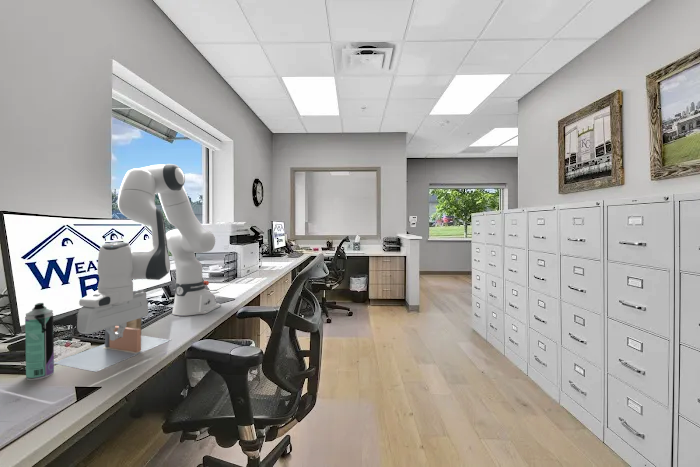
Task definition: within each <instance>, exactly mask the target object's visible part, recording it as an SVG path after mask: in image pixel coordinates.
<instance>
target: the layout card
mask: <svg viewBox="0 0 700 467" xmlns="http://www.w3.org/2000/svg"><path fill="white" fill-rule="evenodd" d="M170 341H172V339H167V338H160V337H154V336H147V335H142V334H141V351H138V352H134V351H129V350H122V349H116V348H110V347H105V343H104V344H100V345H99V346H95V347H92V348H89V349H85V350H83V351H81V352H78V353H74V354H73V355H69V356H67V357H64V359H63V358H61V359H62V360H60V359H59V360H60V361H58V360H57V361H58V362H55V361H54V365H59V366H64V367H68V368H74V369H79V370H85V371H88V372H89V371H90V372H94V373H97V372H100V371H102V370H103V369H106V368H108V367H112V366H113V365H116V364H118V363H120V362H123V361H126V360H128V359H130V358H132V357H135V356H137V355H139V354H142V353H144V352H147V351H149V350H151V349H154V348H156V347H158V346H161V345H163V344H166V343H168V342H170Z"/></svg>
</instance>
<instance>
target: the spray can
mask: <svg viewBox="0 0 700 467" xmlns="http://www.w3.org/2000/svg"><path fill="white" fill-rule="evenodd" d="M53 312H54V311H53V310H52V309H50V308H47V306H44V302H39V303H36V304H34V307H33V308H32V309H31V310H30V311H29V312H27V313H25V318H24V322H25V323H24V324H25V325H24V326H25V327H24V329H25V334H24V336H25V377H26V378H25V379H26V380H28V381H36V380H41V379H44V378H48V377H49V376H51V375H53V374H54V373H55V364H54V362H55V355H54V354H55V348H54V344H55V343H54V342H55V341H54V336H55V335H54V313H53Z"/></svg>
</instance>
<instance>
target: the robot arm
mask: <svg viewBox="0 0 700 467" xmlns="http://www.w3.org/2000/svg"><path fill="white" fill-rule="evenodd" d="M185 181H186V178H185V173H184V170H183V169H182V168H181V167H180V166H178V165H177V164H174V163H166V164H152V165H151V164H150V165H149V166H143V167H139V168H138V167H137V168H132V169H128V170H127V172H126V173H125V175H124V177H123V179H122V182H121V185H120V188H119V191H118V192H119V193H118V197H117V208H118V210H119V212H120V213H121V214H122V215H123V216H124V217H126V218H127V219H129V220H131V221H134V222H136V223H139V224H143V225H145V226H148V227H149V228H150V229H151V237H152V248H151V249H150V250H132V249H131V248H132V247H131V245H130V243H128V242H125V241H113V242H112V241H111V242H107V243H104V244H102V245H101V246H100V247H99V252H98V258H97V275H98V278H99V281H98V285H97V290H95V291H93V292H92V293H90V294H87V295H85V296H84V297H81V299H79V302H78V304H79V306H80V307H81V308H80V309H79V310H78V313H77V320H76V322H77V323H76V328H77V329H76V330H77V332H79V333H80V334H82V335H90V334H94V333H97V332H101V331H103V330H104V331H105V329H106V331H107V332H108V333H109V334H110V340H116V339H119V338H122V337H123V332H124V330H125V328H126V326H127V322H129V321H132V320H136V319H139V318H141V319H142V318H144V317H147V316H148V314H149V304H148V298H147V292H146V291H145V290H143V289H140V288H139V289H138V290H134V281H133V280H149V281H150V280H154V281H159V280H161V279H163V278H164V277H166V276H167V275H168V274H169V273H170V269H171V261H170V257H169V252H170V253H171V256H172V257H173V261H174V265H175V283H174V290H175V294H174V301H173V307H172V309H173V310H172V313H171V314H172V315H175V316H183V317H184V316H193V315H202V314H203V315H205V314H208V313H210V312H212V311H214V310H215V309H218V308H220V307H221V306H222V305H221V303H219V302H216V296H215V294H214V293H212V292H211V291H210V290H208V289H207V288H206V286H209V284H210V281H209V280H203V264H202V263H201V262H200V261H199V260H198V258H197V257H196V254H203V253H208V252H211V251H212V250H213V249H214V247H215V245H216V237H215V235H214V233H213V232H211V231H209V230H208V229H207V228H205V227H204V225H203V224H202V223H201V221H199V219H198V217H197V216H196V215H195V212H194V210H193V207H192V205H191V201H190V199H189V196H188V194H187V190H185V187H184V186H185ZM156 194H158V199H159V201H160V205H161V207H162V210H163V212H162V210H161V209H159V208H157V206H156V203H155V201H156ZM163 213H164V214H163ZM164 215H165V216H164ZM165 217H166V219H167V221H168V223H169V224H170V225H172V226H173V227H175V229H171V230H169V231H166V223H165ZM168 251H169V252H168ZM115 326H119V328H118V330H117V332H114V329H115Z"/></svg>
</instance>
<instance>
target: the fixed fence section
mask: <svg viewBox="0 0 700 467" xmlns="http://www.w3.org/2000/svg"><path fill="white" fill-rule="evenodd" d="M126 327H129V328H136V329H141V330H142V318H139V319H136V320H132V321H129V322H127V326H126Z"/></svg>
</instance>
